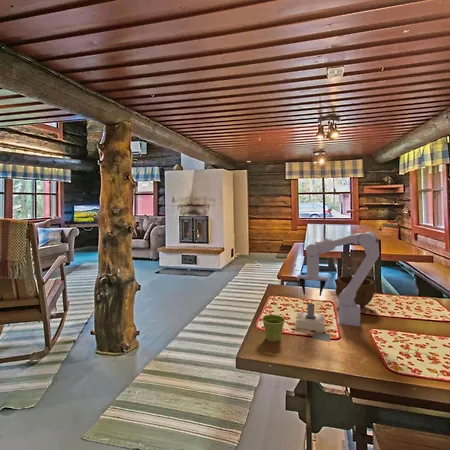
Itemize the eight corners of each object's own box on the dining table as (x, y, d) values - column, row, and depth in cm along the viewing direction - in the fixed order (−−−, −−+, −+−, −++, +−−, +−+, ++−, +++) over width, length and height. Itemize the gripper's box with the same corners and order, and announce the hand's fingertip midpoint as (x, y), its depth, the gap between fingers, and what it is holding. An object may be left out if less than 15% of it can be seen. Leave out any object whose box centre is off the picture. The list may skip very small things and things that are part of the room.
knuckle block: (324, 323, 142) (324, 314, 142) (324, 331, 133) (324, 323, 132) (297, 319, 146) (298, 311, 146) (296, 328, 136) (296, 319, 136)
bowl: (375, 304, 166) (376, 277, 165) (370, 315, 150) (371, 286, 149) (339, 298, 176) (340, 273, 175) (331, 308, 161) (332, 281, 159)
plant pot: (279, 346, 120) (279, 325, 119) (258, 340, 125) (258, 320, 124) (288, 337, 128) (288, 317, 127) (267, 332, 133) (267, 313, 132)
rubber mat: (330, 334, 130) (330, 334, 130) (330, 342, 123) (330, 341, 123) (313, 332, 132) (313, 331, 132) (312, 339, 126) (312, 338, 126)
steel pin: (313, 324, 140) (314, 303, 139) (313, 327, 137) (314, 306, 136) (307, 324, 141) (307, 303, 140) (306, 326, 138) (307, 305, 137)
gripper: (297, 268, 148) (296, 295, 150) (328, 270, 144) (327, 298, 145) (298, 265, 155) (297, 291, 156) (328, 267, 150) (327, 294, 152)
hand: (312, 294), depth 151 cm, fingers open, 7 cm apart
